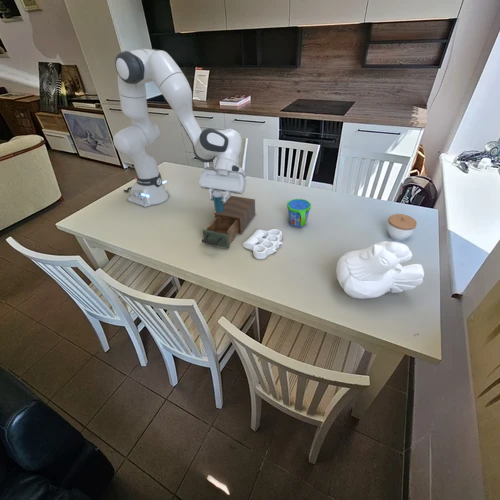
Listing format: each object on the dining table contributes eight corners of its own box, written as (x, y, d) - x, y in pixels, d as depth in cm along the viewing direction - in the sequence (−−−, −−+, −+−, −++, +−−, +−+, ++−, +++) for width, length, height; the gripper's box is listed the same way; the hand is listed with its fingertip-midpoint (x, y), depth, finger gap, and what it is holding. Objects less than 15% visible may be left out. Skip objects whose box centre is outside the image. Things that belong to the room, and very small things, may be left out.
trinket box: (409, 230, 123) (417, 212, 117) (412, 245, 115) (419, 226, 109) (383, 227, 126) (389, 209, 120) (384, 240, 118) (390, 222, 112)
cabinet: (241, 234, 126) (240, 218, 121) (216, 229, 130) (214, 213, 125) (255, 214, 138) (254, 199, 133) (232, 210, 142) (231, 195, 137)
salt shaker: (213, 211, 118) (210, 194, 113) (217, 206, 120) (215, 190, 115) (221, 213, 116) (219, 195, 111) (225, 208, 119) (223, 191, 114)
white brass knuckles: (260, 230, 128) (289, 239, 122) (238, 251, 116) (269, 263, 110) (260, 223, 126) (289, 233, 120) (238, 245, 114) (269, 256, 108)
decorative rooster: (322, 282, 92) (386, 255, 72) (334, 248, 101) (394, 216, 81) (376, 323, 96) (450, 309, 76) (382, 287, 105) (451, 265, 85)
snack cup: (284, 214, 137) (285, 196, 131) (305, 213, 137) (307, 195, 131) (288, 233, 125) (289, 214, 119) (312, 232, 125) (314, 212, 119)
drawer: (223, 256, 113) (221, 242, 109) (198, 250, 117) (196, 237, 113) (243, 227, 129) (242, 215, 124) (221, 223, 132) (219, 211, 128)
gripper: (200, 163, 116) (192, 195, 115) (245, 168, 110) (237, 202, 109) (206, 169, 122) (199, 199, 121) (250, 174, 116) (242, 206, 115)
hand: (217, 201), depth 115 cm, fingers closed on salt shaker, 4 cm apart
